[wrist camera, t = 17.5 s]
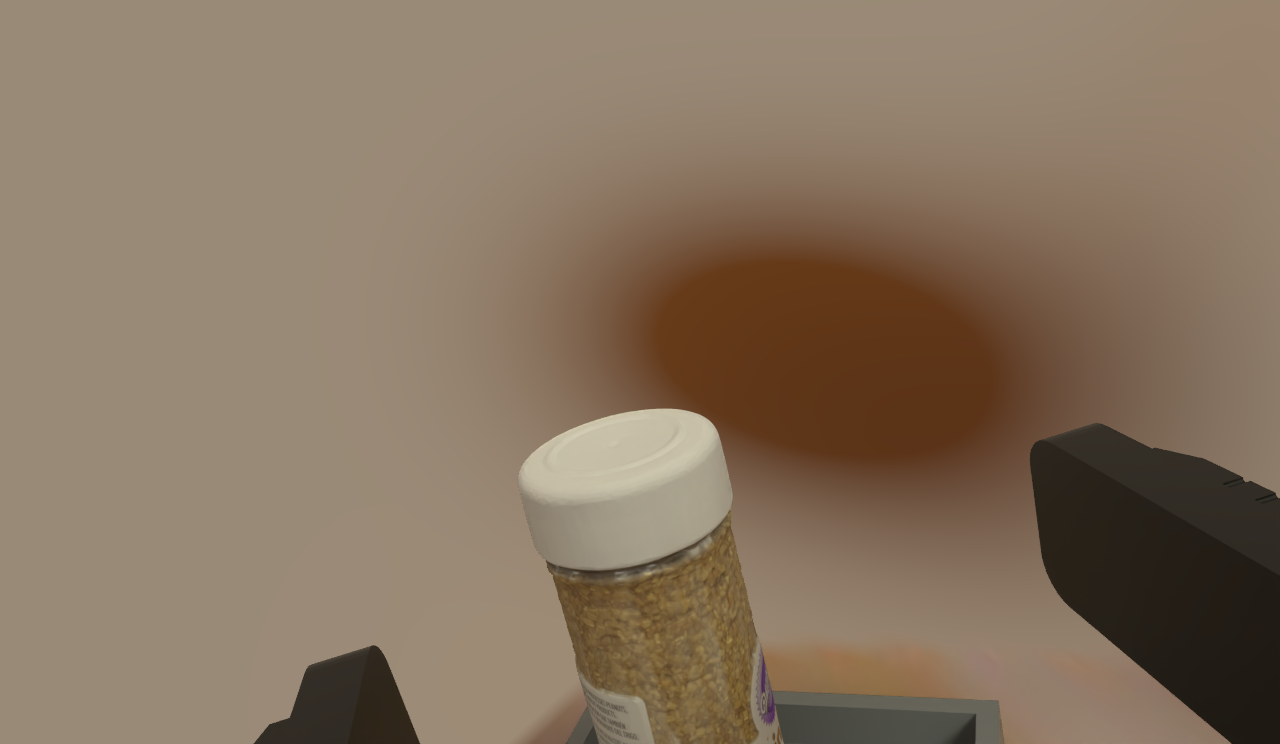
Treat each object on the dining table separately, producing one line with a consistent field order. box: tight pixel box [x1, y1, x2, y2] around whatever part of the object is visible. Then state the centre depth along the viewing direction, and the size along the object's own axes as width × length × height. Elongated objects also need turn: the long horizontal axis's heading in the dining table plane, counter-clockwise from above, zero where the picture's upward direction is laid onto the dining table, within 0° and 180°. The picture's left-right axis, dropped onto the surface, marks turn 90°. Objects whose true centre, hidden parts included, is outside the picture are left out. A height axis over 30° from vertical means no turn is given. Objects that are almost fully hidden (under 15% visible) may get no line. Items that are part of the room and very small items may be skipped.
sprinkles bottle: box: [518, 409, 784, 744], centre depth 22 cm, size 5×5×14 cm
